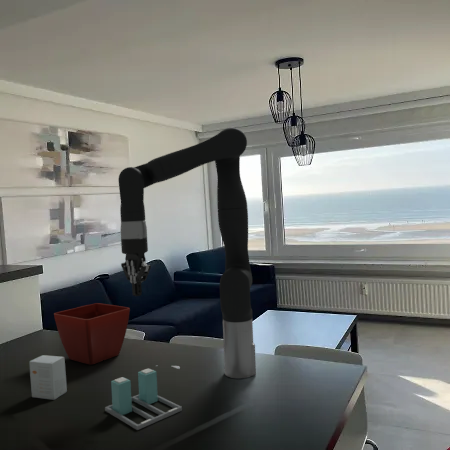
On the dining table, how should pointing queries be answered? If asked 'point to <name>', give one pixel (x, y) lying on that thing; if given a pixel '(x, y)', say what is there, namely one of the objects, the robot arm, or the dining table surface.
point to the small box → (48, 377)
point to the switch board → (144, 414)
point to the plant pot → (92, 331)
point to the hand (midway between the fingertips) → (137, 295)
